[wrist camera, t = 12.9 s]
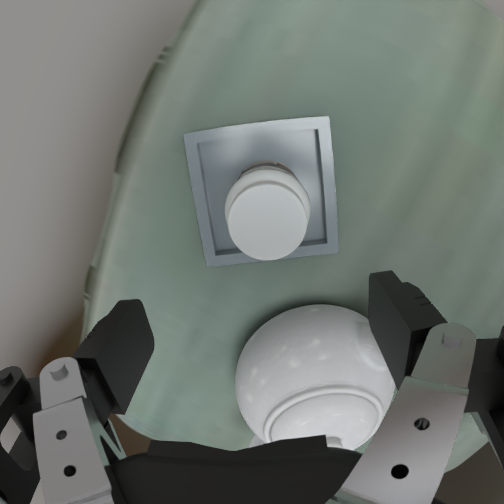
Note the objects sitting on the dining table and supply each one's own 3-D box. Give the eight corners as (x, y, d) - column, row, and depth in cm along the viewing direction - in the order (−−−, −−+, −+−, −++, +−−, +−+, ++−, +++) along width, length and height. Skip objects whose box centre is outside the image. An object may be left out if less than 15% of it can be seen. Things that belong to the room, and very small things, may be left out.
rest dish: (334, 245, 30) (338, 252, 28) (209, 259, 31) (206, 267, 29) (324, 116, 26) (328, 116, 24) (187, 133, 27) (182, 134, 25)
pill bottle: (280, 233, 29) (287, 284, 20) (223, 205, 29) (202, 244, 19) (311, 178, 27) (334, 205, 18) (252, 147, 27) (244, 158, 17)
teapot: (211, 307, 33) (185, 405, 21) (387, 276, 31) (444, 360, 19) (248, 419, 40) (243, 505, 27) (382, 397, 38) (409, 478, 25)
